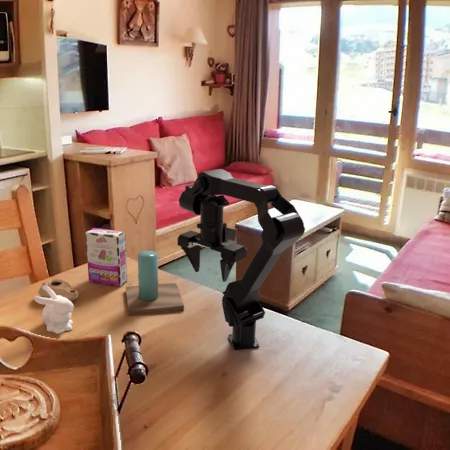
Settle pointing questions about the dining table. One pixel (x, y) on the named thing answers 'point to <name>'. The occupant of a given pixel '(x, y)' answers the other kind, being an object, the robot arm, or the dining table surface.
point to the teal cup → (148, 275)
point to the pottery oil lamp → (59, 289)
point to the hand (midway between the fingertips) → (210, 276)
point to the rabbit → (56, 311)
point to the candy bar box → (106, 256)
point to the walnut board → (164, 303)
